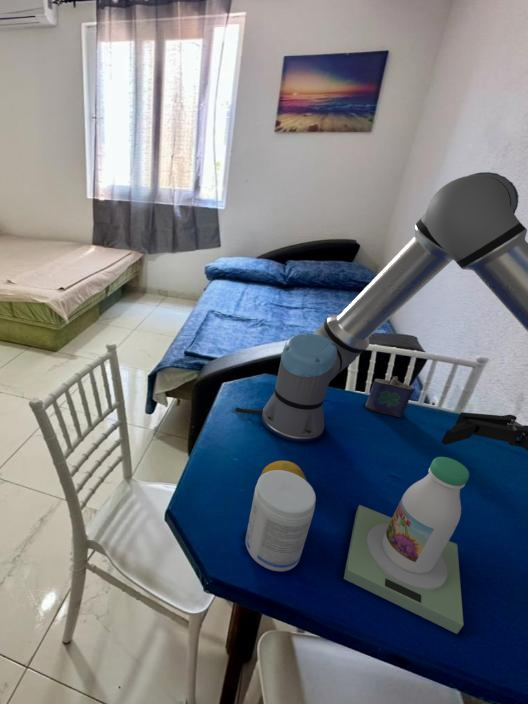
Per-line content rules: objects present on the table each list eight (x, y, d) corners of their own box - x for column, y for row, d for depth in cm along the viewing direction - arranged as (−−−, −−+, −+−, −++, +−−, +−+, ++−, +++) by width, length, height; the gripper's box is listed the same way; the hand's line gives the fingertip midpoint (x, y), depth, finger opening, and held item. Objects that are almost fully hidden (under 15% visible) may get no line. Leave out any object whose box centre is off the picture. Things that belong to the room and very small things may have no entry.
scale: (343, 578, 68) (348, 566, 67) (355, 513, 80) (360, 501, 79) (457, 634, 61) (466, 622, 59) (451, 553, 73) (459, 541, 72)
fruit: (271, 516, 79) (279, 487, 75) (250, 485, 86) (256, 457, 82) (310, 507, 81) (319, 478, 78) (287, 478, 88) (294, 450, 84)
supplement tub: (310, 556, 72) (331, 497, 65) (274, 584, 67) (292, 524, 60) (268, 518, 79) (282, 461, 72) (233, 541, 74) (244, 482, 67)
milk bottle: (418, 536, 72) (463, 450, 63) (442, 578, 65) (496, 489, 56) (373, 531, 73) (411, 446, 63) (392, 572, 66) (438, 483, 57)
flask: (365, 408, 112) (376, 375, 107) (364, 403, 114) (376, 370, 109) (403, 418, 108) (417, 384, 103) (401, 412, 111) (415, 379, 106)
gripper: (652, 507, 62) (569, 547, 56) (485, 413, 83) (409, 434, 76) (685, 471, 59) (600, 509, 52) (501, 382, 79) (423, 401, 72)
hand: (486, 465), depth 64 cm, fingers open, 13 cm apart
